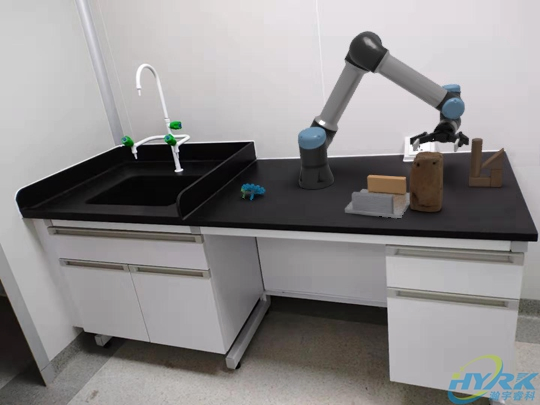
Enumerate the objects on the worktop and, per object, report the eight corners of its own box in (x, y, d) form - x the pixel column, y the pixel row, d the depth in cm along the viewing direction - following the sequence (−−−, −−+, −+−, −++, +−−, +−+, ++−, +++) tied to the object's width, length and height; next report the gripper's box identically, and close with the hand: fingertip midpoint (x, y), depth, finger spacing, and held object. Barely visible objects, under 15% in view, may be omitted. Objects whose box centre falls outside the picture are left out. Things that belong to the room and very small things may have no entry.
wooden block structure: (501, 187, 152) (505, 140, 145) (468, 186, 157) (471, 140, 150) (500, 183, 155) (504, 137, 148) (468, 183, 160) (471, 137, 153)
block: (442, 204, 146) (444, 150, 138) (441, 213, 140) (443, 157, 132) (410, 203, 151) (410, 150, 143) (408, 212, 144) (407, 157, 136)
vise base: (344, 212, 151) (343, 193, 148) (362, 192, 165) (361, 174, 162) (400, 218, 141) (400, 198, 138) (414, 196, 155) (414, 178, 152)
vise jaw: (367, 191, 162) (367, 177, 159) (370, 188, 164) (369, 174, 161) (404, 194, 154) (404, 179, 152) (406, 191, 156) (406, 177, 154)
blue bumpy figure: (270, 190, 176) (256, 181, 169) (267, 203, 175) (254, 195, 167) (249, 192, 183) (235, 183, 175) (246, 204, 181) (232, 196, 173)
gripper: (480, 140, 156) (473, 159, 140) (412, 140, 169) (398, 157, 153) (481, 120, 153) (473, 137, 137) (412, 122, 166) (397, 137, 150)
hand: (434, 148), depth 145 cm, fingers open, 13 cm apart
